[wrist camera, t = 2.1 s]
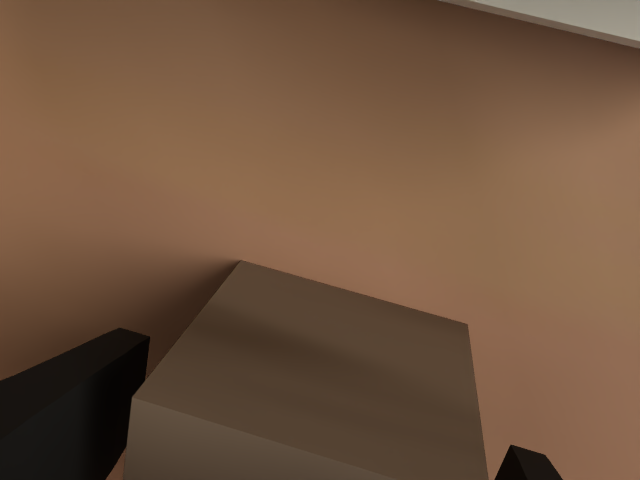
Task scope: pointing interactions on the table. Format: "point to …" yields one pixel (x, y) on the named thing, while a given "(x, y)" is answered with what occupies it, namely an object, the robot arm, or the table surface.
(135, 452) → the walnut block
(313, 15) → the table surface
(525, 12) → the tower base slab
